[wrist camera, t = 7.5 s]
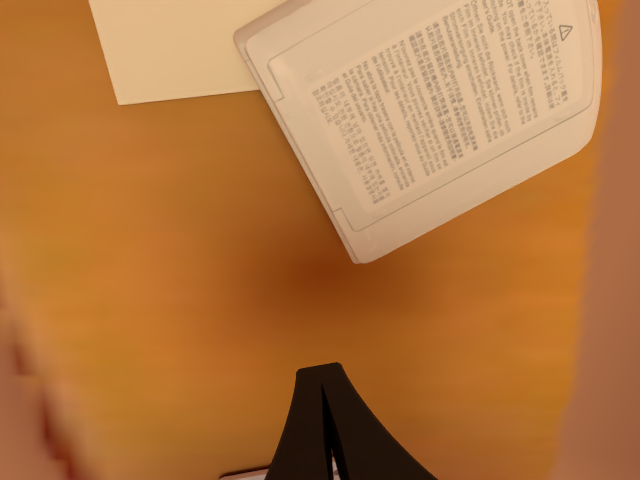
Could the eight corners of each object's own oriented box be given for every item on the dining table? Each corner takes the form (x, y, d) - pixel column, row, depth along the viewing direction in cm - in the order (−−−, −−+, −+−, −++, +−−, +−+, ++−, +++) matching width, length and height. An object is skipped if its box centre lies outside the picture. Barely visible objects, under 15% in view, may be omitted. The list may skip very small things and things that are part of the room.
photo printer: (343, 243, 19) (566, 121, 19) (365, 285, 16) (647, 133, 15) (230, 42, 15) (511, -127, 14) (220, 29, 11) (605, -203, 11)
